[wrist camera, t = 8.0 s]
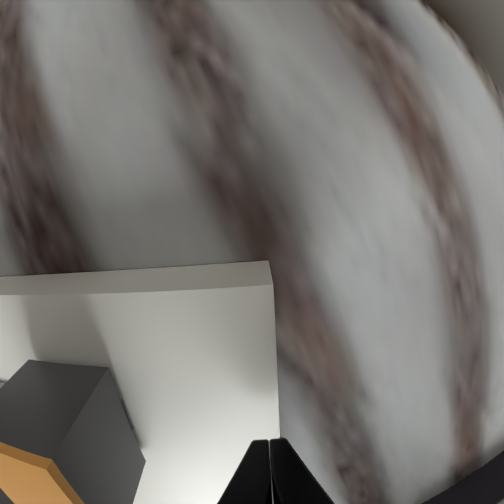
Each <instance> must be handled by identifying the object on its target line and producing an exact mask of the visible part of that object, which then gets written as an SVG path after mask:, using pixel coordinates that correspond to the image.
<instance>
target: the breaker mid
mask: <svg viewBox="0 0 504 504" xmlns="http://www.w3.org/2000/svg"><path fill="white" fill-rule="evenodd" d="M0 504H14V503H13V502H12V500H11V499H10V498H9V497H8V496H7V495H6V494H5V493H4V492H3V490H2V489H1V488H0Z"/></svg>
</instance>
